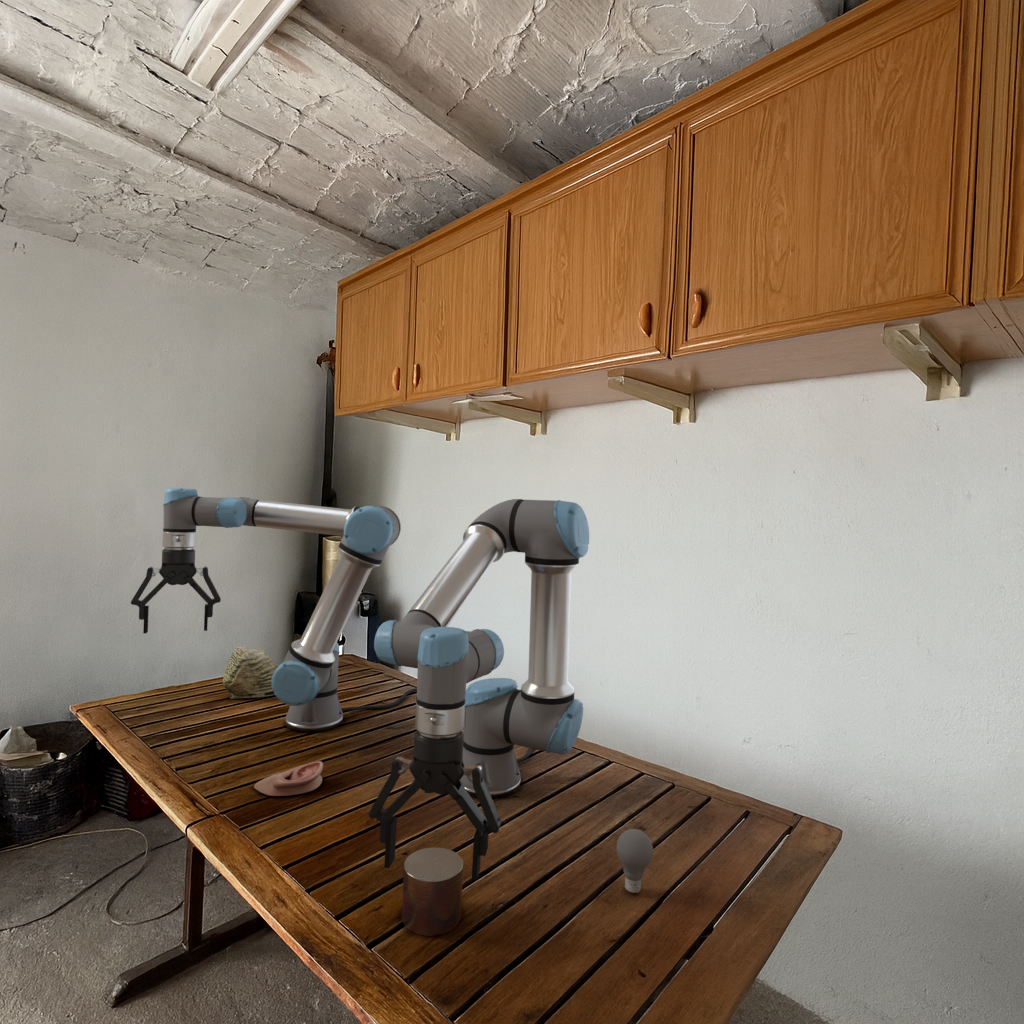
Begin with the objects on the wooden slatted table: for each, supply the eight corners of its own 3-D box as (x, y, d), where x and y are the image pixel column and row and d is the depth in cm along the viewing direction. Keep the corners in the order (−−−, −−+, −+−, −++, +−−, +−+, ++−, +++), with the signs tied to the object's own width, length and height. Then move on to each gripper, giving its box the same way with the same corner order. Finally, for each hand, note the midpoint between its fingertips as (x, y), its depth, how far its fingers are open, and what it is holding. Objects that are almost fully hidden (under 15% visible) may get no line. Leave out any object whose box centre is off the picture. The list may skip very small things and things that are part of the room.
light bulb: (610, 879, 108) (613, 822, 108) (644, 879, 109) (647, 822, 109) (619, 902, 102) (622, 840, 102) (655, 901, 103) (658, 840, 103)
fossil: (218, 695, 195) (220, 647, 195) (278, 685, 208) (279, 640, 207) (228, 703, 189) (230, 653, 188) (289, 692, 201) (290, 645, 201)
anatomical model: (246, 773, 134) (276, 753, 145) (245, 792, 134) (276, 770, 145) (303, 782, 131) (330, 760, 142) (302, 801, 131) (329, 777, 142)
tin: (419, 891, 103) (421, 842, 103) (470, 906, 100) (472, 855, 100) (390, 926, 95) (392, 872, 94) (445, 943, 92) (447, 887, 91)
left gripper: (119, 549, 153) (117, 636, 154) (232, 550, 164) (229, 631, 164) (124, 546, 160) (121, 630, 160) (232, 547, 170) (229, 626, 171)
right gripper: (351, 730, 95) (344, 871, 95) (516, 747, 91) (509, 894, 91) (370, 715, 102) (363, 845, 102) (523, 730, 99) (516, 866, 99)
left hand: (176, 631), depth 162 cm, fingers open, 13 cm apart
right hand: (432, 869), depth 97 cm, fingers open, 13 cm apart
